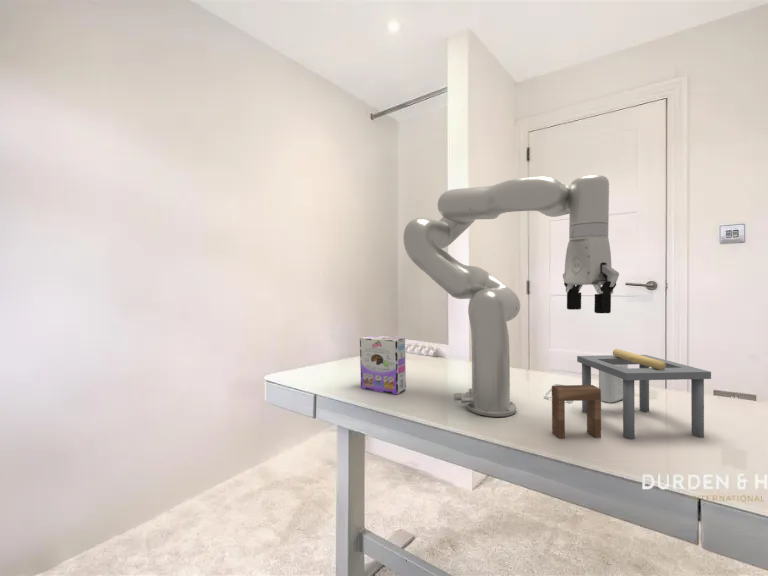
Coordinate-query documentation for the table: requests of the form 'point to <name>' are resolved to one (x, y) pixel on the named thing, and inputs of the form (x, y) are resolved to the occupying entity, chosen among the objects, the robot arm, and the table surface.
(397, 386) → the candy box
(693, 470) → the table surface
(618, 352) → the grey open-frame table
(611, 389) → the photo printer
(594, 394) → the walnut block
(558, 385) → the phone case
